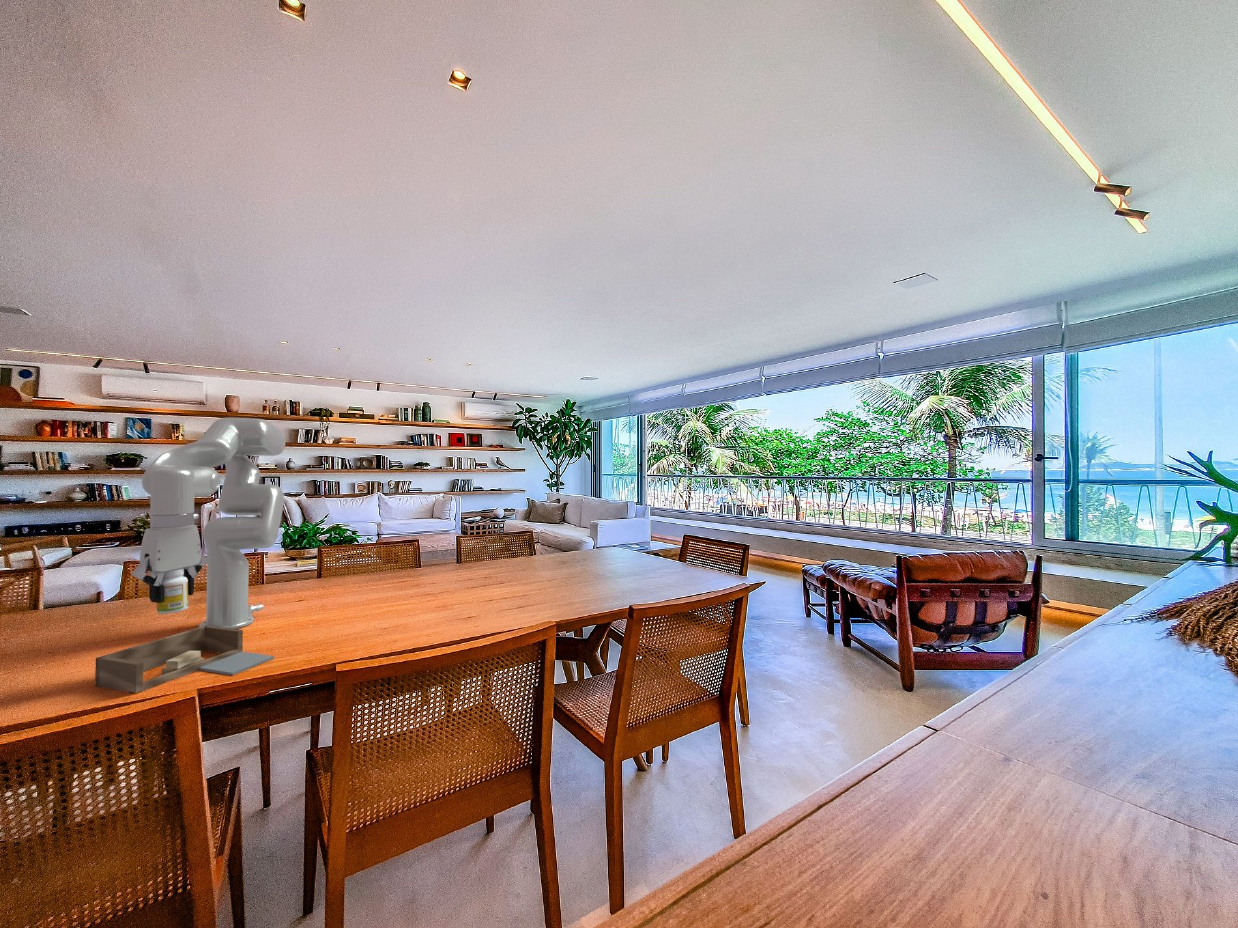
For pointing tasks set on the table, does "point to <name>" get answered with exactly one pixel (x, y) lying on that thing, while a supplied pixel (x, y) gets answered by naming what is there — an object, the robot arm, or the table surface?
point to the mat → (236, 663)
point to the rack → (164, 657)
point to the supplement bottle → (174, 592)
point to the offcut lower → (165, 671)
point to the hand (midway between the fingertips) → (172, 597)
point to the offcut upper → (183, 659)
